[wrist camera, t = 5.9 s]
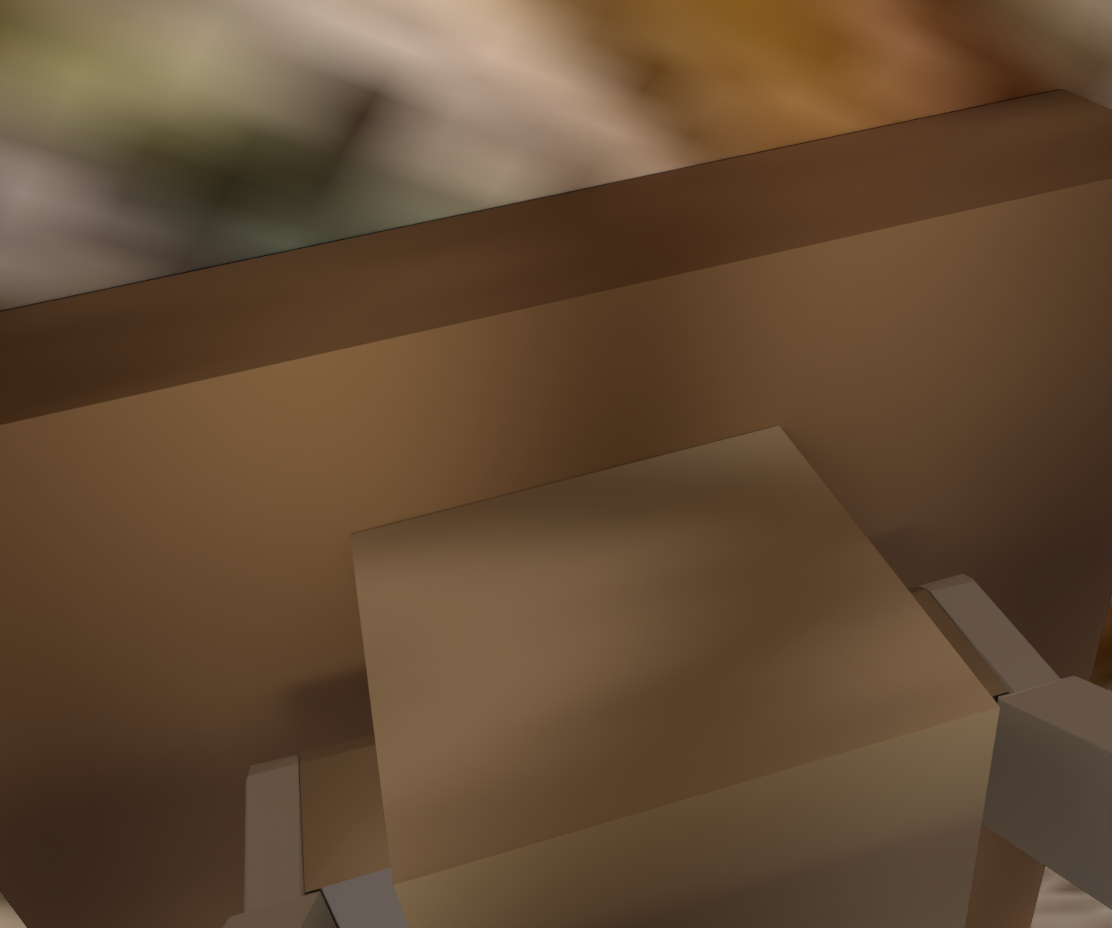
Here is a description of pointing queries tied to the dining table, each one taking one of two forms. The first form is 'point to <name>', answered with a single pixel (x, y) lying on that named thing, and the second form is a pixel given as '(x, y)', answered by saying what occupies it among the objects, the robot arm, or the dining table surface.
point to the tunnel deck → (523, 452)
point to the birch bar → (668, 707)
